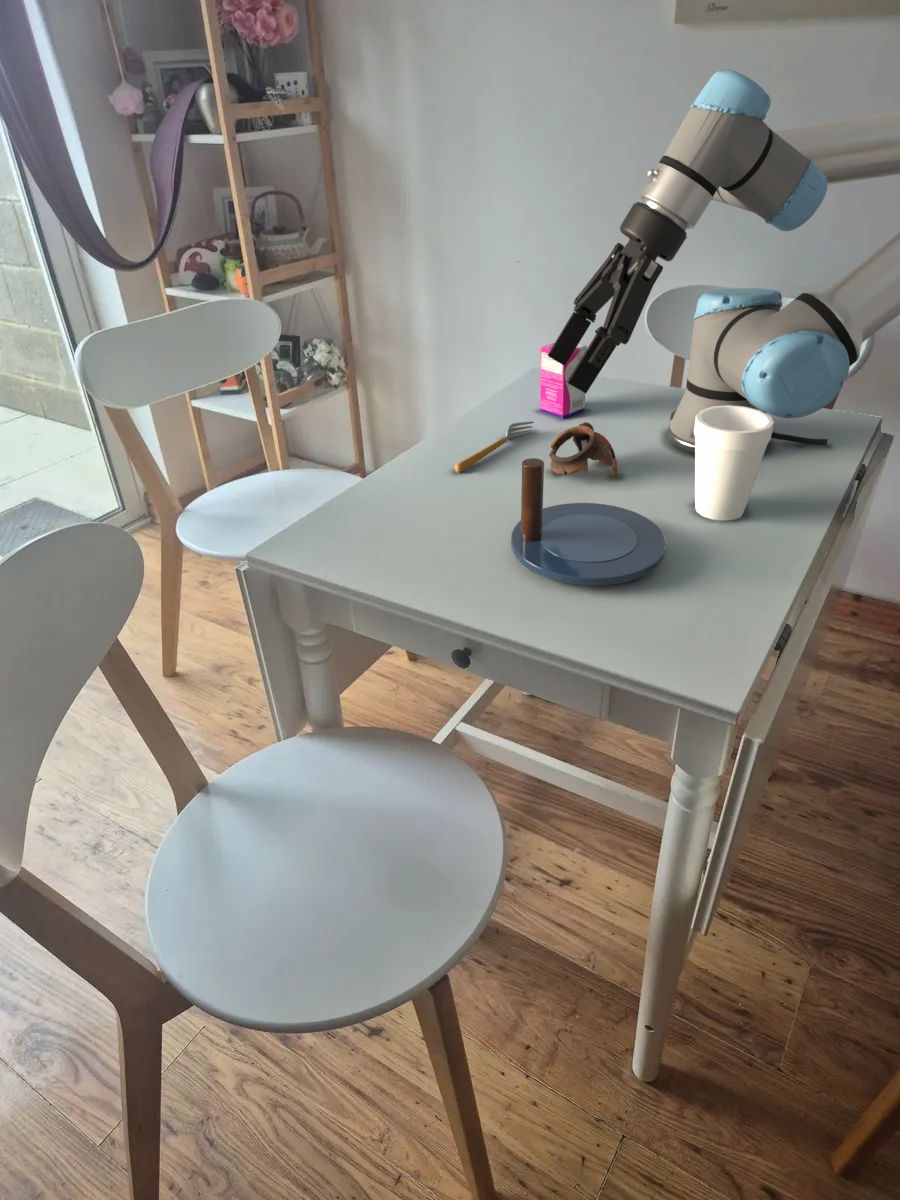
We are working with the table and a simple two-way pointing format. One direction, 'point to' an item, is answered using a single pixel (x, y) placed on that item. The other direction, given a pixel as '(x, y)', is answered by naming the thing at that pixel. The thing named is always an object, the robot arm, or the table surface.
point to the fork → (492, 446)
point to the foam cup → (728, 458)
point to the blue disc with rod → (582, 538)
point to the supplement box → (560, 384)
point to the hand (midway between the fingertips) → (565, 373)
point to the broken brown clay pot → (582, 451)
